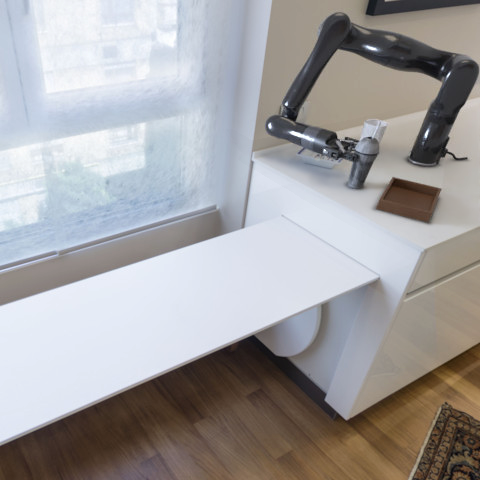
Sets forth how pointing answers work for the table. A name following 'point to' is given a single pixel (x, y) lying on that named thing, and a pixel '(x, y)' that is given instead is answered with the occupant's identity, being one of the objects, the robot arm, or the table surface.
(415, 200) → the tray
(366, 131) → the white cup
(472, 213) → the table surface
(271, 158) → the table surface
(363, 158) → the beverage cup
